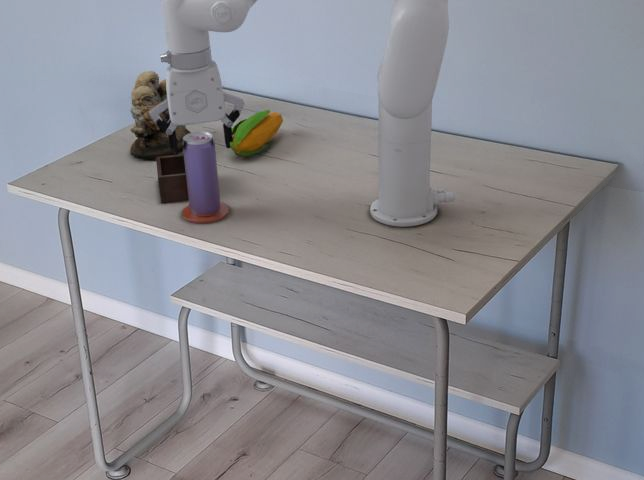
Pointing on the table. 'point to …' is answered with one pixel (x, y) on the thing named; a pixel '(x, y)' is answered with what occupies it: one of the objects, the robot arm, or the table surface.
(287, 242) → the table surface
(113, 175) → the table surface
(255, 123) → the corn
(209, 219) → the coaster
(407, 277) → the table surface
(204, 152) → the beverage can
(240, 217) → the table surface
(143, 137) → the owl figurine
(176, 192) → the caddy
